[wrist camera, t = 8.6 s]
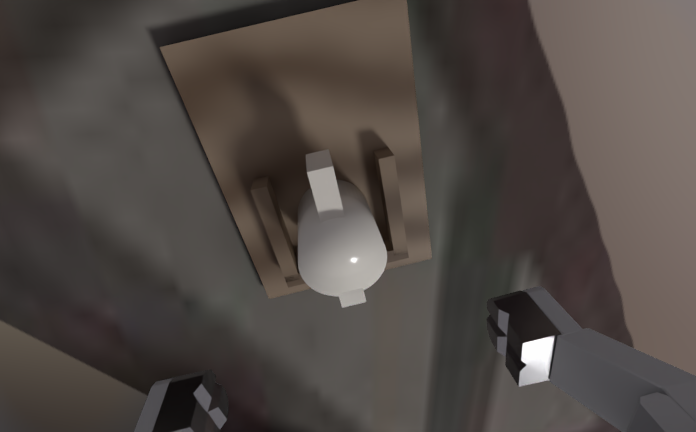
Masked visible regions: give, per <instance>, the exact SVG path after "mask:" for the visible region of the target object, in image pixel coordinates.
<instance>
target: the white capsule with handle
mask: <svg viewBox="0 0 696 432" xmlns="http://www.w3.org/2000/svg"><path fill="white" fill-rule="evenodd" d="M306 167H307V175H308V178H309V182H310V185H311V188H310V189H308V190H307V191H306V192H305V194H304V195H303V196H302V198H301V200H300V202H299V205H298V212H297V214H298V268H299V272H300V275H301V277H302V279H303V280H304V282H305V283H306V284H307V285H308V286H309V287H311V288H312V289H314V290H315V291H317V292H319V293H322V294H325V295H329V296H339V298H340V302H341V305H342V308H343V307H347V306H351V305H355V304H360V303H364V302H366V299H365V294H364V290H365V289H367V288H368V287H370V286H371V285H373V284H374V283H375V282H376V281H377V280H378V279H379V277H380V276H381V275H382V273H383V271H384V269H385V266H386V263H387V251H386V247H385V244H384V242H383V239H382V237H381V234H380V232H379V229H378V227H377V224H376V222H375V220H374V217H373V215H372V212H371V210H370V207H369V205H368V202H367V200H366V197H365V196H364V194H363V193H362V191H361V190H360V189H359V188H358V187H356V186H355V185H353V184H351V183H349V182H346V181H343V180H336V176H335V172H334V168H333V164H332V160H331V156H330V153H329V149H327V150H323V151H319V152H314V153H310V154H306Z"/></svg>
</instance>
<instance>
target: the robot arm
mask: <svg viewBox="0 0 696 432" xmlns="http://www.w3.org/2000/svg"><path fill="white" fill-rule="evenodd" d="M487 310H488V311H489V313H490V315H489V317H488V318H487V330H488V334H489V337H490V339H491V341H492V344H493V345H494V347H495V349H496V350H497V352H499V353H501V354H502V355H504V356H506V363H505V365H506V367H507V369H508V370H509V372H510V373H511V375H512V377H513V378H514V380H515V381H516V383H517V385H518V386H523V385H528V384H532V383H537V382H541V381H546V380H550V381H549V382H551V383H552V384H554V385H555V386H557V387H558V388H560V389H561V390H563V391H564V392H565V393H567V394H568V395H570V396H571V397H573V398H574V399H576V400H577V401H578V402H580V403H581V404H583V405H584V406H586V407H587V408H589V409H590V410H591V411H593V412H594V413H596V414H597V415H599V416H600V417H602V418H603V419H605V420H606V421H607V422H609V423H610V424H612V425H613V426H615V427H616V428H618V429H619V430H620V431H622V432H696V376H695V375H692V374H690V373H688V372H685V371H683V370H681V369H679V368H677V367H674V366H672V365H670V364H668V363H665V362H663V361H661V360H658V359H656V358H654V357H652V356H650V355H647V354H645V353H643V352H641V351H638V350H636V349H634V348H632V347H629V346H627V345H625V344H623V343H620V342H618V341H616V340H614V339H611V338H609V337H607V336H605V335H602V334H600V333H598V332H596V331H593V330H591V329H589V328H587V329H582V328H581V327H580V326H579V325H578V324H577V323H576V322H575V321H574V320H573V319H572V318H571V316H570V315H569V314H568V313H567V312H566V311H565V310H564V309H563V308H562V307H561V306H560V305H559V304H558V303H557V302H556V300H555V299H554V298H553V297H552V296H551V295H550V294H549V293H548V292H547V291H546V290H545V289H544V288H543V287H541V286H538V287H534V288H530V289H526V290H523V291H517V292H513V293H510V294H506V295H502V296H498V297H494V298H491V299H488V301H487ZM215 380H216V375H215V374H214V373H213V371H212V370H205V371H201V372H196V373H192V374H187V375H183V376H178V377H174V378H170V379H166V380H161V381H157V382H155V384H154V385H153V386H152V387H151V389H150V392H149V394H148V397H147V399H146V402H145V404H144V407H143V409H142V412H141V414H140V417H139V419H138V422H137V425H136V427H135V430H134V432H221V430H220V429H221V427H222V426H223V424H224V423H225V422H226V420H227V416H228V410H229V407H228V396H227V393H226V390H225V389H224V387H223V386H222V385H220V384H217V383H215Z"/></svg>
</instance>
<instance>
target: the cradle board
mask: <svg viewBox="0 0 696 432" xmlns="http://www.w3.org/2000/svg"><path fill="white" fill-rule="evenodd" d="M160 50H161V52H162V54H163V57H164V59H165V61H166V63H167V66H168V68H169V70H170V73H171V75H172V77H173V79H174V82H175V84H176V86H177V89H178V91H179V93H180V95H181V98H182V100H183V102H184V105H185V107H186V109H187V111H188V114H189V116H190V118H191V121H192V123H193V125H194V128H195V130H196V132H197V134H198V137H199V139H200V141H201V144H202V146H203V148H204V150H205V153H206V155H207V157H208V160H209V162H210V164H211V166H212V169H213V171H214V173H215V176H216V178H217V180H218V183H219V185H220V187H221V189H222V192H223V194H224V196H225V199H226V201H227V203H228V205H229V208H230V210H231V212H232V215H233V217H234V219H235V221H236V224H237V226H238V228H239V231H240V233H241V235H242V238H243V240H244V242H245V244H246V247H247V249H248V251H249V254H250V256H251V258H252V260H253V263H254V265H255V267H256V270H257V272H258V274H259V276H260V279H261V281H262V283H263V286H264V288H265V290H266V293H267V295H268V297H269V299H271V298H275V297H279V296H283V295H287V294H291V293H295V292H299V291H303V290H307V289H311V287H309V286H308V285H307V284H306V283H305V282H304V280H303V279H302V277H301V275H300V272H299V268H298V214H297V212H298V205H299V202H300V200H301V198H302V196H303V195H304V194H305V192H306V191H307V190H308V189H310V188H311V185H310V182H309V178H308V175H307V167H306V154H310V153H314V152H319V151H323V150H327V149H329V153H330V156H331V160H332V164H333V168H334V172H335V176H336V180H343V181H346V182H349V183H351V184H353V185H355V186H356V187H358V188H359V189H360V190H361V191H362V193H363V194H364V196H365V197H366V200H367V202H368V205H369V207H370V210H371V212H372V215H373V217H374V220H375V222H376V224H377V227H378V229H379V232H380V234H381V237H382V239H383V242H384V244H385V247H386V251H387V263H386V266H385V269H384V270H388V269H392V268H396V267H400V266H404V265H408V264H412V263H416V262H420V261H424V260H428V259H432V254H431V244H430V234H429V224H428V213H427V203H426V193H425V183H424V172H423V162H422V152H421V142H420V132H419V121H418V111H417V101H416V91H415V80H414V70H413V60H412V50H411V39H410V29H409V19H408V9H407V0H357V1H353V2H349V3H345V4H340V5H336V6H332V7H328V8H323V9H319V10H315V11H311V12H307V13H302V14H298V15H294V16H290V17H285V18H281V19H277V20H273V21H268V22H264V23H260V24H256V25H251V26H247V27H243V28H239V29H234V30H230V31H226V32H222V33H218V34H213V35H209V36H205V37H201V38H196V39H192V40H188V41H184V42H179V43H175V44H171V45H167V46H162V47H160Z"/></svg>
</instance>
